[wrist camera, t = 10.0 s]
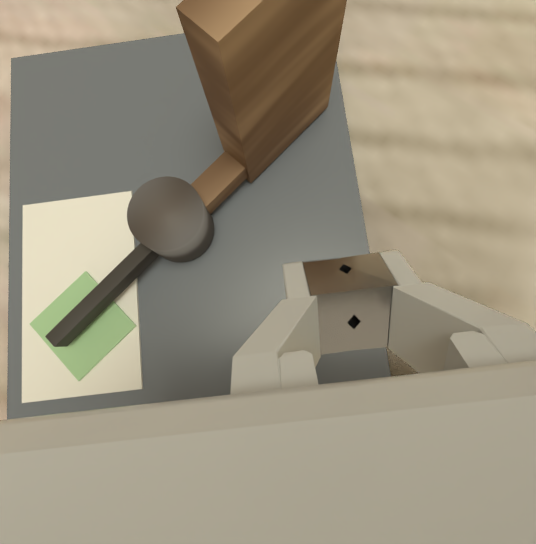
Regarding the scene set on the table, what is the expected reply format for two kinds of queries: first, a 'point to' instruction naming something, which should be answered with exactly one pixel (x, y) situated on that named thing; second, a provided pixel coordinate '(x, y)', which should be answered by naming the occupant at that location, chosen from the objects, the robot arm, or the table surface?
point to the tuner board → (120, 242)
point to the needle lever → (228, 125)
